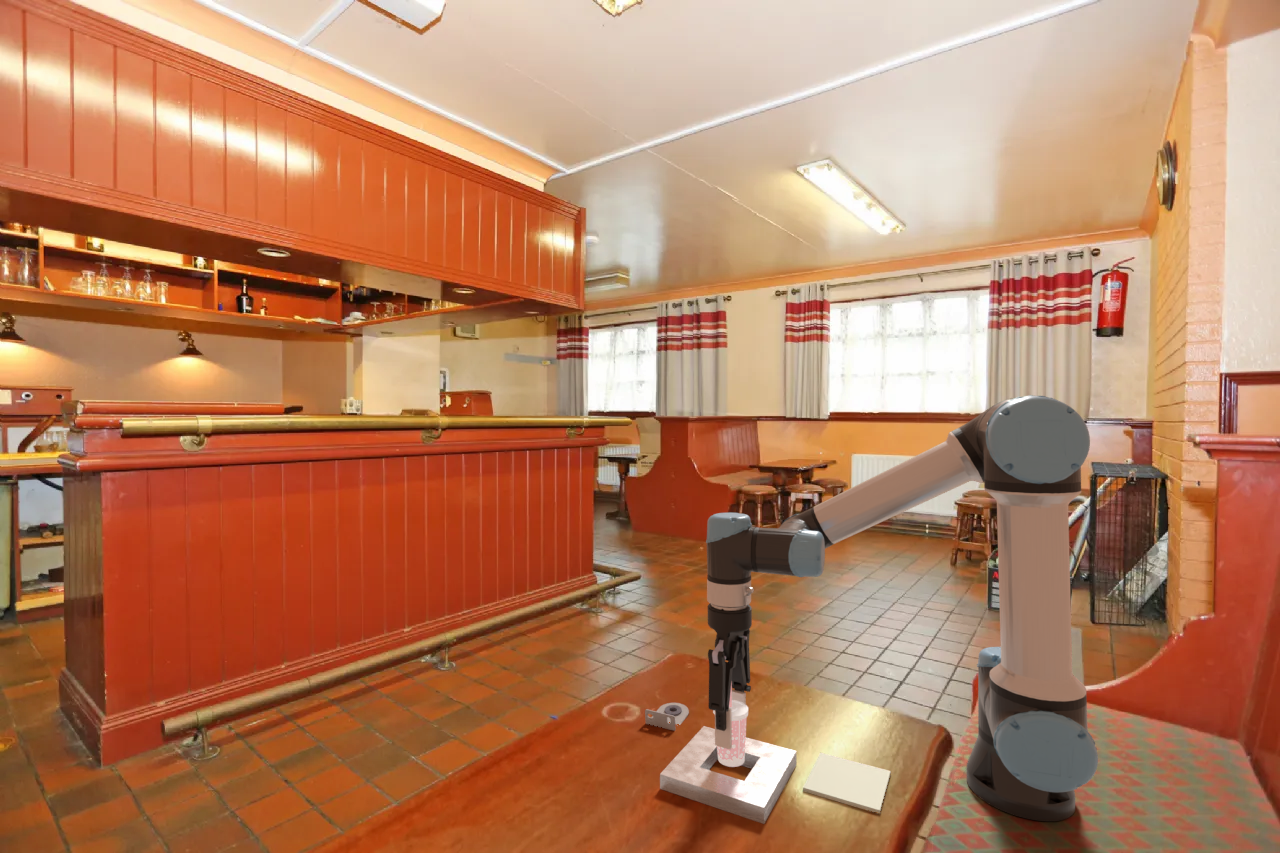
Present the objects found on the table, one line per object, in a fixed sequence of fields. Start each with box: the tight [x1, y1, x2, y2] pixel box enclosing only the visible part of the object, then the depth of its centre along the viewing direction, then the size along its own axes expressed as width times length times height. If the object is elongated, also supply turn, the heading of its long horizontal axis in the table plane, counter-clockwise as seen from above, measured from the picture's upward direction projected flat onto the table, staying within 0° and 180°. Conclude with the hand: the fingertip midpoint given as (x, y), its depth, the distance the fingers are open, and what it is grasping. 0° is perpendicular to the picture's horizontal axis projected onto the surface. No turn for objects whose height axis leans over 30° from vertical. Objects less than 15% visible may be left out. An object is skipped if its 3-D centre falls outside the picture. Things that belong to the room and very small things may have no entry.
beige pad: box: [802, 752, 891, 814], centre depth 102 cm, size 12×12×1 cm
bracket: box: [644, 702, 690, 732], centre depth 126 cm, size 7×10×4 cm, turn 153°
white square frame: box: [659, 725, 798, 825], centre depth 104 cm, size 18×18×2 cm
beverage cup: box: [712, 681, 749, 768], centre depth 104 cm, size 6×6×14 cm
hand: (730, 736), depth 104 cm, fingers closed on beverage cup, 6 cm apart
